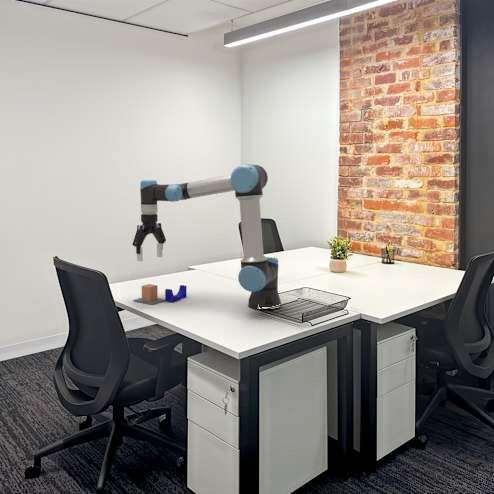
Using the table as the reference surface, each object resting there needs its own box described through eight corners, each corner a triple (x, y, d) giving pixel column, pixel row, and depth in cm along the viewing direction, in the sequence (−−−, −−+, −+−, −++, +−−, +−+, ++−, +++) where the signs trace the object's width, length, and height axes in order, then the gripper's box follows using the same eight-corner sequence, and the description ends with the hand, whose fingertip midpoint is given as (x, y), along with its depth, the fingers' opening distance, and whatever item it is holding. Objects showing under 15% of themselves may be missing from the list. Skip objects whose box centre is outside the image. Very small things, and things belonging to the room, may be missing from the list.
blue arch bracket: (172, 303, 246) (172, 290, 245) (165, 301, 248) (165, 289, 247) (188, 298, 256) (188, 286, 255) (181, 296, 258) (181, 284, 257)
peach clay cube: (157, 299, 249) (157, 285, 248) (150, 301, 245) (149, 287, 244) (149, 297, 252) (149, 284, 251) (141, 300, 247) (141, 285, 246)
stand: (166, 300, 249) (166, 288, 248) (152, 305, 241) (152, 292, 240) (147, 297, 255) (147, 285, 255) (133, 301, 247) (132, 288, 246)
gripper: (160, 211, 255) (161, 254, 258) (123, 214, 234) (124, 261, 237) (172, 212, 251) (173, 256, 254) (136, 215, 230) (137, 263, 233)
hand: (150, 259), depth 245 cm, fingers open, 13 cm apart
